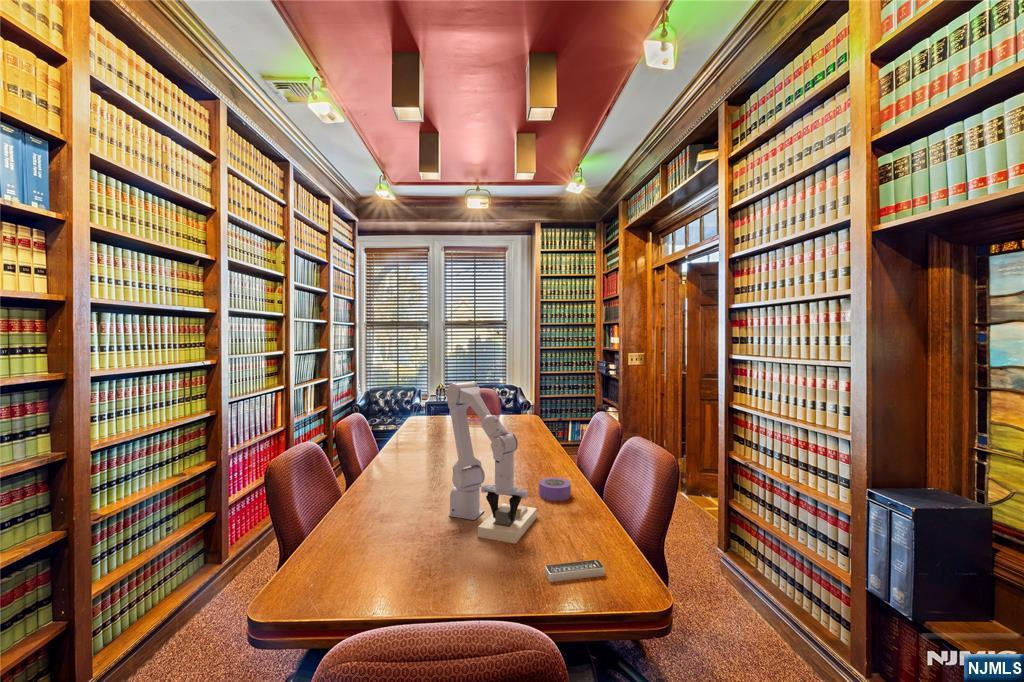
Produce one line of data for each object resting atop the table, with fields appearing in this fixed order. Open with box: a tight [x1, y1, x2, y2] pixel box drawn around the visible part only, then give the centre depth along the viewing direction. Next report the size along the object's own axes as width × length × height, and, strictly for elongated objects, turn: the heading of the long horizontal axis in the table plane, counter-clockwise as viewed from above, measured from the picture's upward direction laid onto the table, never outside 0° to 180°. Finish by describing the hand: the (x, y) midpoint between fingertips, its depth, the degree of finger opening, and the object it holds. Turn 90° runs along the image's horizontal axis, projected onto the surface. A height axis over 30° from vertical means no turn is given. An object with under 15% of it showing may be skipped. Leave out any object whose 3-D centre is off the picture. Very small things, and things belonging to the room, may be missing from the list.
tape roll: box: [538, 477, 572, 502], centre depth 168 cm, size 12×12×5 cm
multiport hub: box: [544, 559, 606, 583], centre depth 113 cm, size 4×14×2 cm, turn 103°
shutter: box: [498, 503, 528, 518], centre depth 144 cm, size 7×7×3 cm
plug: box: [495, 505, 512, 527], centre depth 137 cm, size 4×4×7 cm
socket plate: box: [477, 503, 538, 544], centre depth 141 cm, size 12×20×3 cm, turn 159°
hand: (504, 518), depth 137 cm, fingers open, 5 cm apart
